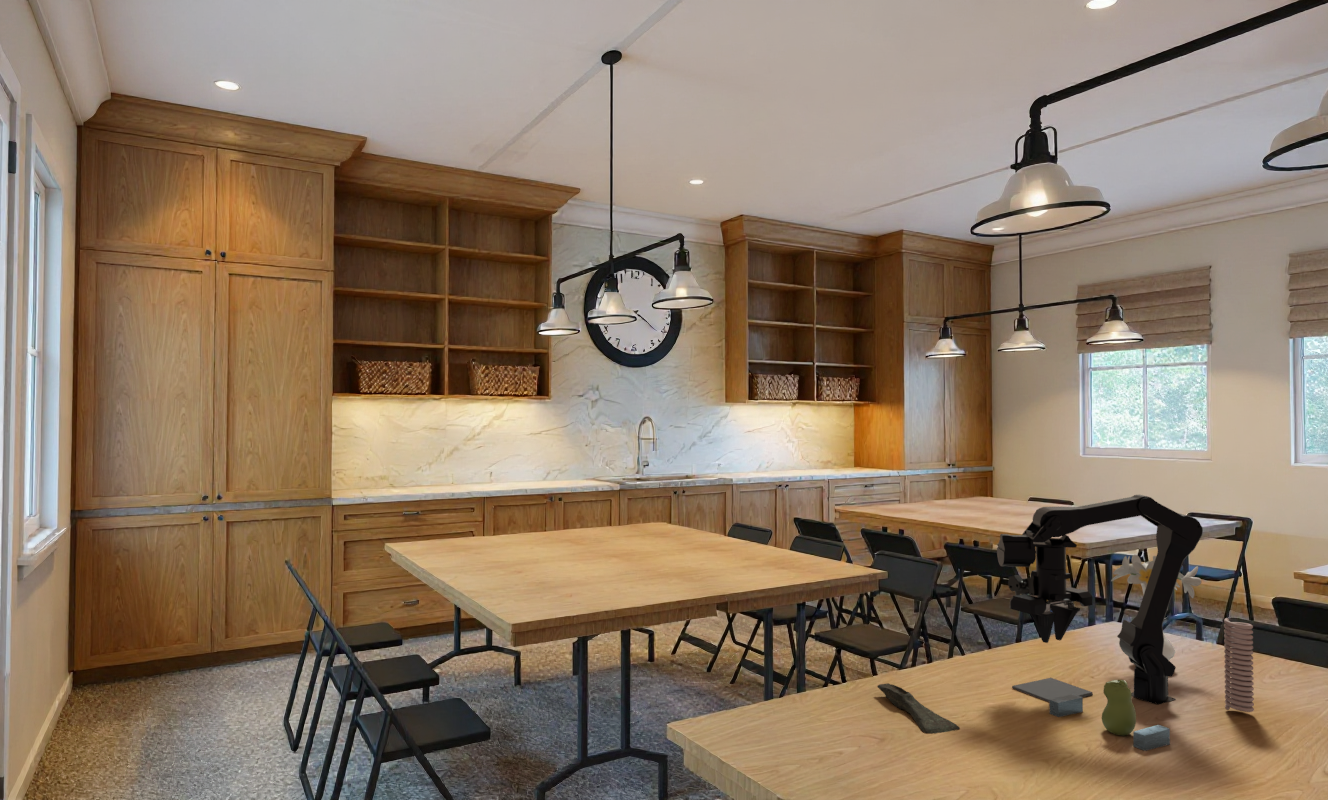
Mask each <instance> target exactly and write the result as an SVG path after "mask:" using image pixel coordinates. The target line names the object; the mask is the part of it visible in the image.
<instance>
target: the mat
mask: <svg viewBox="0 0 1328 800" xmlns="http://www.w3.org/2000/svg"><path fill="white" fill-rule="evenodd" d="M1012 688H1013V690H1015V689H1016V690H1015V691H1018V692H1020V691H1021V693H1023V694H1026V695H1028V694H1029V695H1028V696H1032V697H1033V698H1034V697H1035V698H1036V699H1039V700H1042V701H1044V702H1048V703H1049V700H1050V699H1054V698H1058V697H1063V696H1067V695H1071V694H1075V695H1078V696H1080V697H1083V698H1086V697H1091V696H1093V693H1094V692H1093V691H1091V690H1087V689H1085V688H1081V687H1079V686H1076V685H1073V684H1071V683H1067V682H1064V681H1061V680H1058V679H1056V678H1053V677H1046V678H1043V679H1038V680H1037V679H1036V680H1032V681H1029V682H1025V683H1019V684H1015V685H1012V687H1011V689H1012Z"/></svg>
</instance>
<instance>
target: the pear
mask: <svg viewBox="0 0 1328 800" xmlns="http://www.w3.org/2000/svg"><path fill="white" fill-rule="evenodd" d="M1128 686H1129V685H1128V682H1127V681H1126V680H1124V679H1113V680H1108V681H1106V682H1105V683H1104V685H1103V694H1104V696H1105V698H1106V699H1107V701H1106V705H1105V707H1104V709H1103V711H1102V714H1101V722H1102V724H1103V726H1104V728H1105V730H1107V731H1108V732H1110V733H1111V734H1114V735H1115V736H1121V737H1122V736H1128V735H1130V734H1131V733H1133V732H1134V731H1135V728H1136V724H1137V723H1136V722H1137V713H1136V708H1135V705H1134V703H1133V701H1132V699H1133V697H1132V694H1131V693H1132V691H1131V688H1129V687H1128Z"/></svg>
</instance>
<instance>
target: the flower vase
mask: <svg viewBox="0 0 1328 800" xmlns="http://www.w3.org/2000/svg"><path fill="white" fill-rule="evenodd" d="M1156 556H1157V555H1153V556H1152V560H1149V561H1146V562H1145V561H1144V563H1143V562H1142V560H1141V558H1140V556H1139V555H1137V554H1134V555H1132V557H1131V563H1130V556H1128V558H1127V555H1125V556H1124V557H1123V559H1122V563H1121V565H1120V566H1119V567H1118V568H1116V569H1114V571H1113V573H1112V574H1113V575H1114V577H1113V578H1111V580H1110V582H1113V581H1115V580H1117V579H1119V578H1121V577H1124V576H1127V575H1129V576H1128V577H1127V583H1128V584H1134V585H1139V584H1140V586H1141V588H1142V594H1143V596H1144V593H1145V590H1146V587H1147V584H1148V581H1149V578H1150V574H1151V571H1152V568H1153V565H1154V562H1155V559H1156ZM1198 570H1199V566H1198V565H1197V566H1195V567H1194V568H1193V569H1192V570H1191V571H1187V572H1186V574H1185V575H1184V574H1182V573H1181V572H1179V575H1178V578H1177V582H1176V585H1175V588H1174V590H1176V591H1178V588H1181V585H1179V583H1178V580H1179V581H1181V582H1182V586H1183V592H1184V594H1187V593H1188V594H1189V596H1190V598H1191V599H1194V598H1195V590H1194V587H1198V586H1200V585H1201V584H1202V579H1201V578H1200V577H1195V576H1196V575H1197V573H1198ZM1163 636H1164V647H1163V655H1164V656H1165V657H1166V658H1167V659H1168V660H1169V661H1171V660H1172V659H1173V658H1174V657H1175V654H1176V649H1175V646H1174V645H1173V643H1172V642H1171V640H1170V639H1169V638H1167V636H1166V635H1165V633H1164V632H1163Z"/></svg>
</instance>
